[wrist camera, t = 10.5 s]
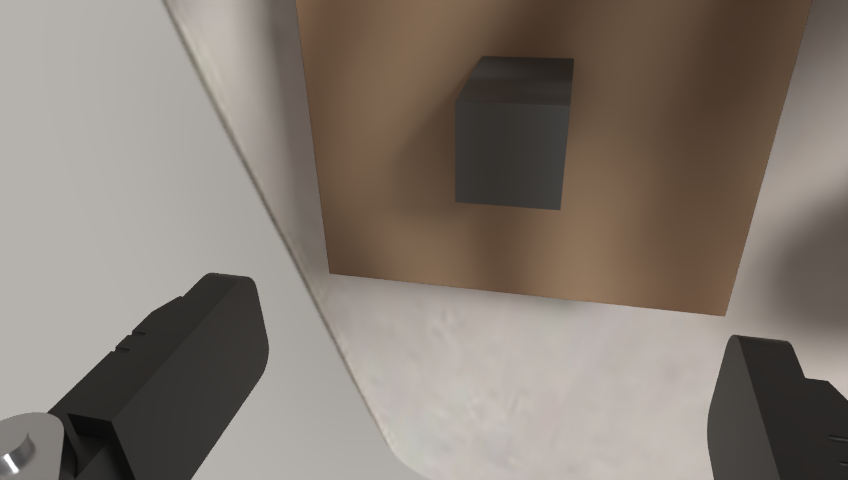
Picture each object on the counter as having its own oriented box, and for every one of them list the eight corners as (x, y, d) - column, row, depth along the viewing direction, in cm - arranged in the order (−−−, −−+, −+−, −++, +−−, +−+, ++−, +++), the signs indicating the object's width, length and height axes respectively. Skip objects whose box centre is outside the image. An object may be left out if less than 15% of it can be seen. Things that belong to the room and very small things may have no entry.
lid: (855, -196, 16) (973, -230, 11) (721, 304, 24) (755, 412, 19) (285, -166, 19) (182, -182, 14) (336, 263, 27) (281, 347, 22)
